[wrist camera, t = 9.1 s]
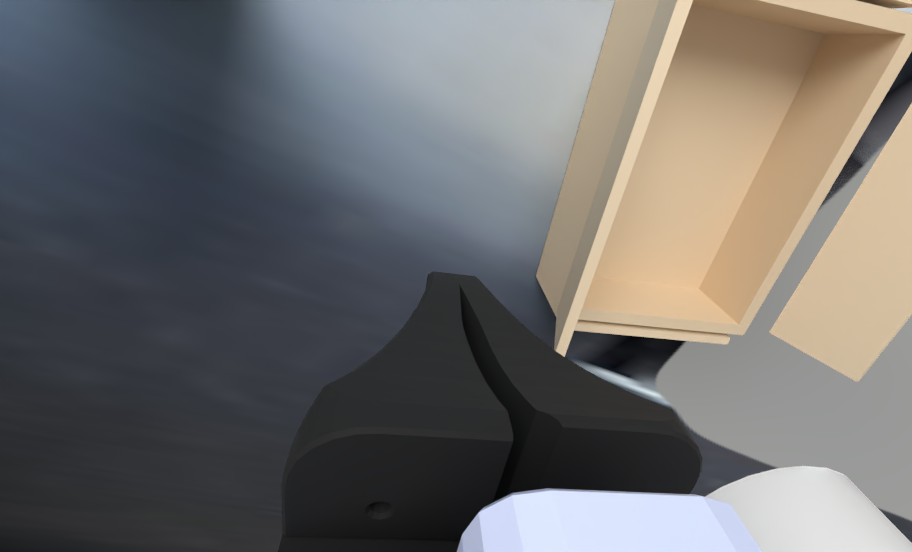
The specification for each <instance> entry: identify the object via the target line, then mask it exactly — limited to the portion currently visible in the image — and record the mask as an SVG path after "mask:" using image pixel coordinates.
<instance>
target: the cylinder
mask: <svg viewBox="0 0 912 552" xmlns="http://www.w3.org/2000/svg"><path fill="white" fill-rule="evenodd" d="M705 497H707V498H710V499H714V500H718V501H721V502H725V503H729V504H731V506H732V507H733V509H734V510H735V512H736V513H737V515H738V516H739V518H740V519H741V521H742V522H743V524H744V525H745V527H746V528H747V530H748V531H749V533H750V534H751V536H752V537H753V539H754V540H755V541H756V543H757V544H758V546H759V547H760V549H761V550H762V552H912V543H911V542H910V541H909V540H908V539H907V538H906V537H905V536H904V535H903V534H902V533H901V532H900V531H899V530H898V529H897V528H896V527H895V526H894V525H893V524H892V522H891V521H890V520H889V519H888V518H887V517H886V516H885V515H884V514H883V513H882V512H881V511H880V510H879V509H878V508H877V507H876V506H875V505H874V504H873V503H872V502H871V501H870V500H869V499H868V498H867V497H866V496H865V495H864V494H863V493H862V492H861V491H860V490H859V489H858V488H857V487H856V486H855V485H854V484H853V483H852V481H851V480H850V479H849V478H848V477H847V476H846V475H844V474H842V473H839V472H836V471H834V470H831V469H829V468H822V467H812V466H797V467H787V468H777V469H773V470H769V471H765V472H761V473H757V474H753V475H750V476H747V477H744V478H742V479H740V480H737V481H735V482H732V483H730V484H727V485H725V486H723V487H721V488H719V489H717V490H715V491H714V492H712V493H710V494H709V495H707V496H705Z"/></svg>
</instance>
